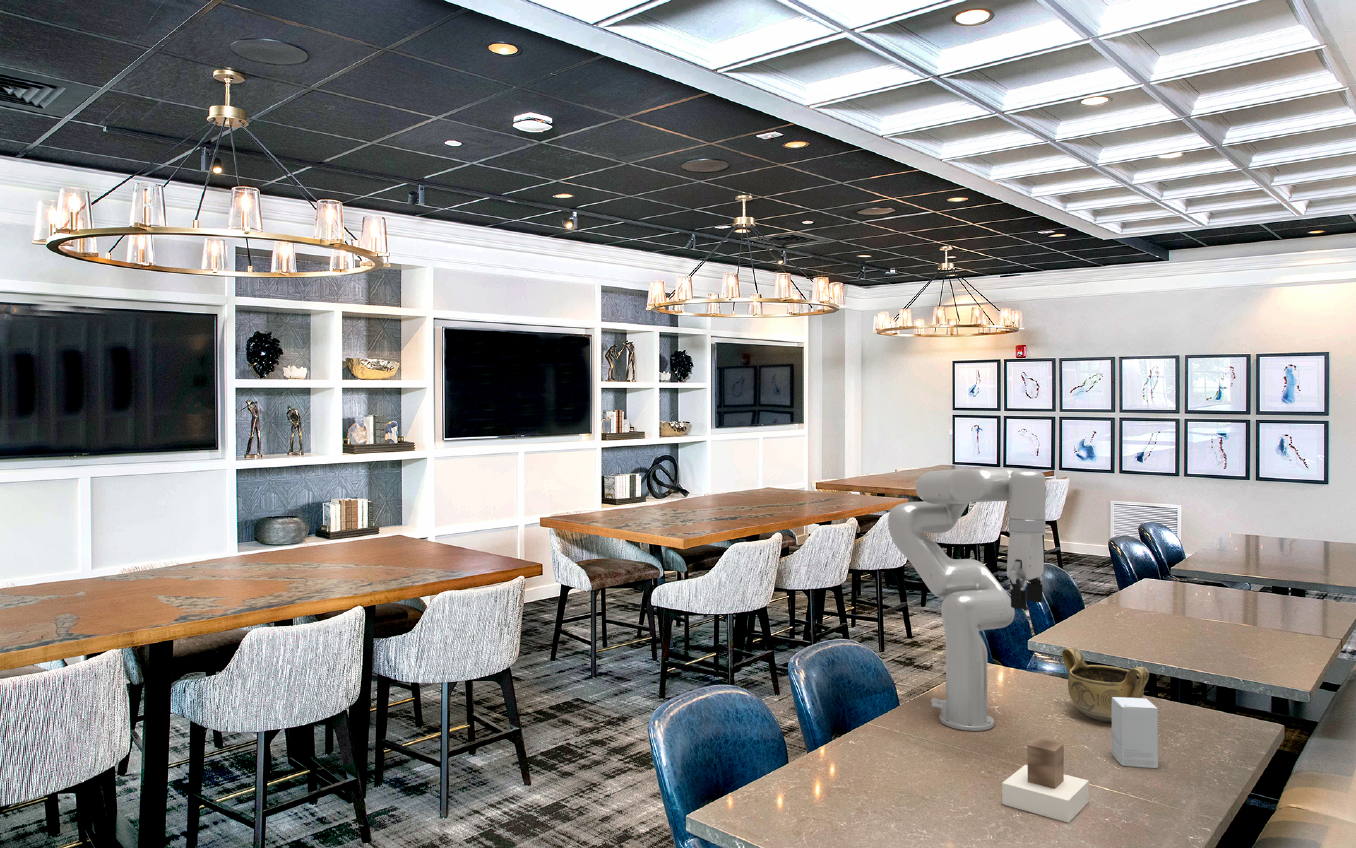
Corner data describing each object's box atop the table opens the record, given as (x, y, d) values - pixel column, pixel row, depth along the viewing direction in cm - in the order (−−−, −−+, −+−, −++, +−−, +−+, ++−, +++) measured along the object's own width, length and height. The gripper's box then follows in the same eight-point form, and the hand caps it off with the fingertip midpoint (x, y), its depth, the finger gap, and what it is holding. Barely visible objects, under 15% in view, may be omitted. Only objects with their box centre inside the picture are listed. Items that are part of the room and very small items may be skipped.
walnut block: (1027, 782, 167) (1027, 745, 167) (1036, 774, 171) (1036, 738, 171) (1054, 789, 164) (1054, 751, 164) (1063, 781, 168) (1063, 744, 168)
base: (1002, 804, 167) (1002, 783, 167) (1025, 784, 176) (1025, 764, 176) (1068, 823, 159) (1068, 800, 159) (1089, 801, 168) (1088, 780, 168)
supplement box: (1159, 769, 184) (1158, 708, 184) (1120, 766, 185) (1120, 706, 185) (1147, 756, 191) (1147, 697, 191) (1110, 753, 193) (1110, 695, 193)
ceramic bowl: (1043, 709, 223) (1043, 650, 223) (1090, 700, 230) (1089, 643, 230) (1122, 737, 203) (1121, 672, 203) (1170, 726, 210) (1170, 663, 210)
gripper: (1023, 522, 202) (1024, 597, 202) (994, 529, 189) (994, 608, 189) (1057, 524, 197) (1057, 601, 197) (1030, 531, 184) (1030, 613, 184)
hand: (1027, 604), depth 193 cm, fingers open, 9 cm apart
